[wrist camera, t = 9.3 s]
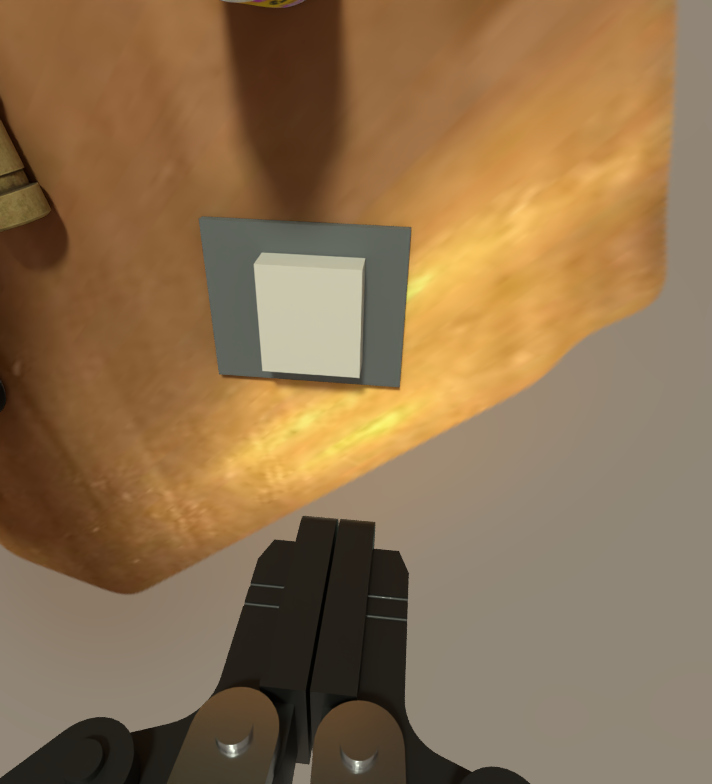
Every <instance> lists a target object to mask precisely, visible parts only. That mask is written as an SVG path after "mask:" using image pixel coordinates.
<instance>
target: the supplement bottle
mask: <svg viewBox="0 0 712 784" xmlns="http://www.w3.org/2000/svg"><path fill="white" fill-rule="evenodd" d="M221 1H226V2H233V3H242V4H249V5H256V6H263V7H270V8H285V7H290V6H294V5H296V4H299V3H301V2H303V1H305V0H221Z"/></svg>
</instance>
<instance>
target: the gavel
mask: <svg viewBox="0 0 712 784" xmlns="http://www.w3.org/2000/svg"><path fill="white" fill-rule="evenodd" d="M23 168H24V165H23V163H22V161H21V159H20V157H19V155H18V153H17V151H16V149H15V147H14V145H13V143H12V141H11V139H10V137H9V135H8V133H7V131H6V129H5V127H4V125H3V123H2V121H1V119H0V232H1V231H5V230H8V229H12V228H15V227H18V226H21V225H24V224H27V223H30V222H32V221H35V220H37V219H40V218H42V217H44V216H46V215H48V214H49V212H50V211H51V208H50V206H49V204H48V202H47V200H46V198H45V196H44V194H43V192H42V190H41V188H40V186H39V184H38V182H36V183H29V181H28V179H27V177H26V175H25V173H24V171H23Z"/></svg>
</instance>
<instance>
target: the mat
mask: <svg viewBox="0 0 712 784" xmlns="http://www.w3.org/2000/svg"><path fill="white" fill-rule="evenodd" d="M199 224H200V232H201V239H202V247H203V255H204V262H205V270H206V278H207V285H208V293H209V301H210V308H211V316H212V323H213V331H214V339H215V346H216V354H217V362H218V369H219V374H223V375H237V376H251V377H265V378H279V379H292V380H306V381H320V382H334V383H348V384H362V385H375V386H389V387H400V373H401V360H402V346H403V332H404V319H405V305H406V291H407V277H408V264H409V250H410V236H411V227H397V226H377V225H358V224H338V223H318V222H299V221H279V220H259V219H240V218H220V217H201V218H200V219H199ZM262 252H263V253H281V254H299V255H317V256H335V257H353V258H365V290H364V324H363V357H362V367H361V372H360V378H354V377H340V376H326V375H312V374H298V373H284V372H270V371H262V360H261V347H260V335H259V323H258V311H257V298H256V286H255V274H254V263H255V261H256V260H257V259H258V257H259V256H260V254H261V253H262Z"/></svg>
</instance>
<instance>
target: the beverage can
mask: <svg viewBox="0 0 712 784" xmlns="http://www.w3.org/2000/svg"><path fill="white" fill-rule="evenodd" d="M5 403H6V394H5V390H4V387H3V384H2V382H1V380H0V412H1V411H2V409H3V408H4V406H5Z"/></svg>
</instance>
